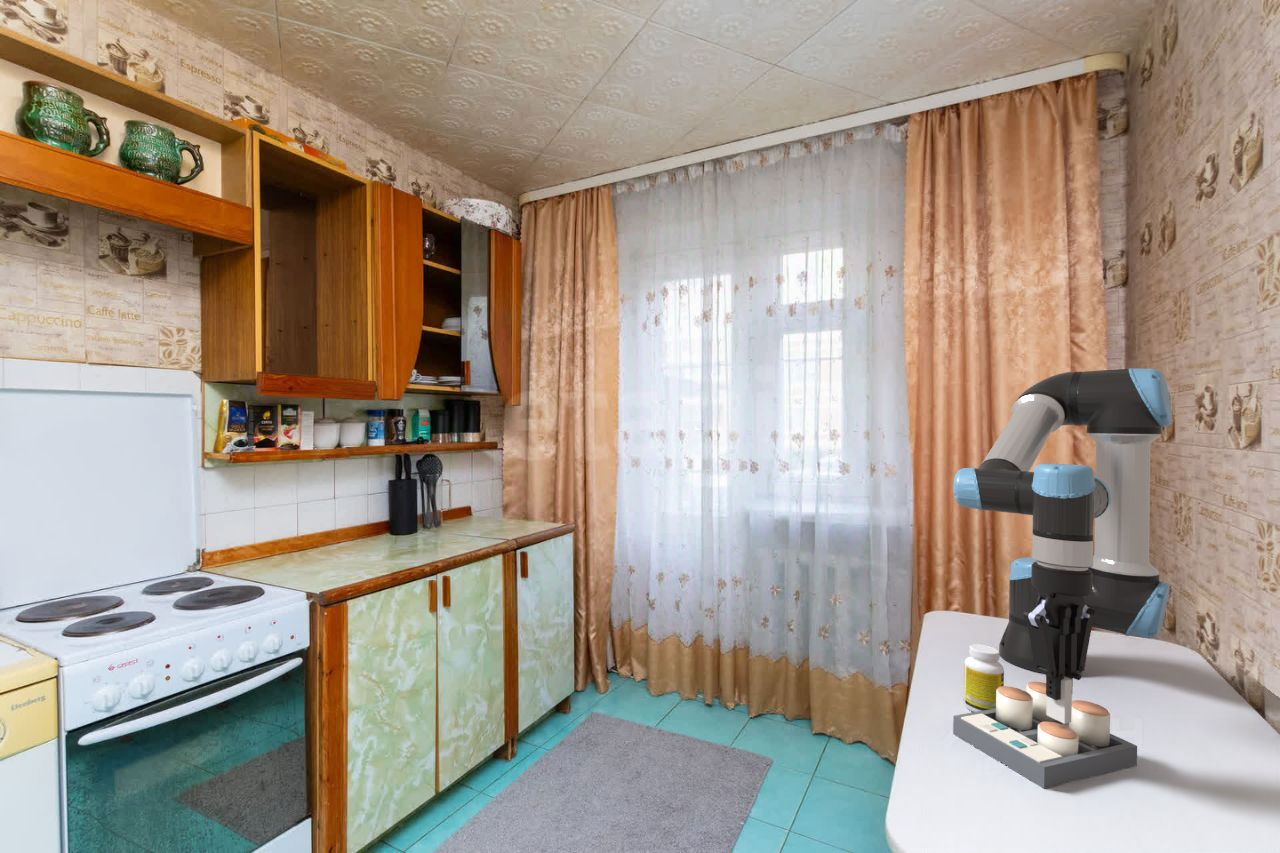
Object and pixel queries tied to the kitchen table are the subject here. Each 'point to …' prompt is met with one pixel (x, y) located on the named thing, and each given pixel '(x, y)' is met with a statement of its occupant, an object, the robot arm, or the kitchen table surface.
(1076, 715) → the button
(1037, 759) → the board
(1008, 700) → the button
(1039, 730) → the button
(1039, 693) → the button
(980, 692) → the pill bottle
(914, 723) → the kitchen table surface
